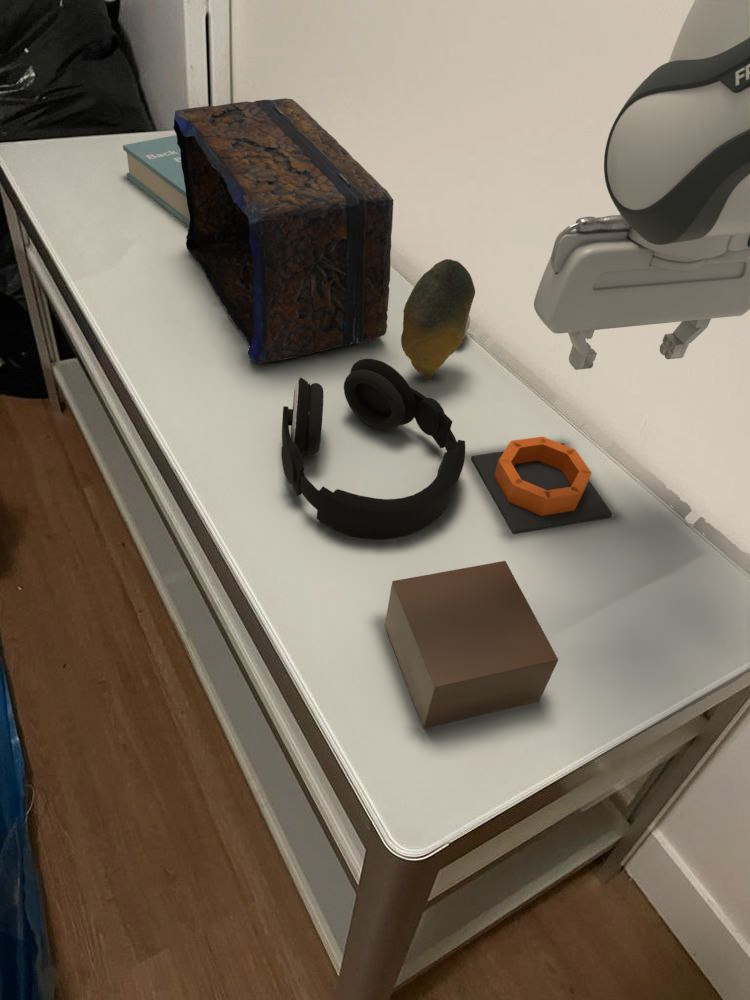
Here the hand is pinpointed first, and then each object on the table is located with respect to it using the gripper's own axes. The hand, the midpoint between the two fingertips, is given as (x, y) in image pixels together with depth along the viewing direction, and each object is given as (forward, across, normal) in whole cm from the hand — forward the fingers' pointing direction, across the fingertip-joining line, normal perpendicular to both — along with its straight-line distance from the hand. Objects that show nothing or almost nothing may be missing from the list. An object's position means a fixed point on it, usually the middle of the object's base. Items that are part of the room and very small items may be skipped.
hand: (625, 360), depth 71 cm
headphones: (+16, -21, +7) cm, 27 cm away
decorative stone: (+16, -9, +21) cm, 28 cm away
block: (+16, -20, -17) cm, 31 cm away
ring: (+15, -4, +1) cm, 16 cm away
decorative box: (+15, -23, +41) cm, 49 cm away
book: (+15, -27, +71) cm, 77 cm away
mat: (+16, -4, +1) cm, 16 cm away
